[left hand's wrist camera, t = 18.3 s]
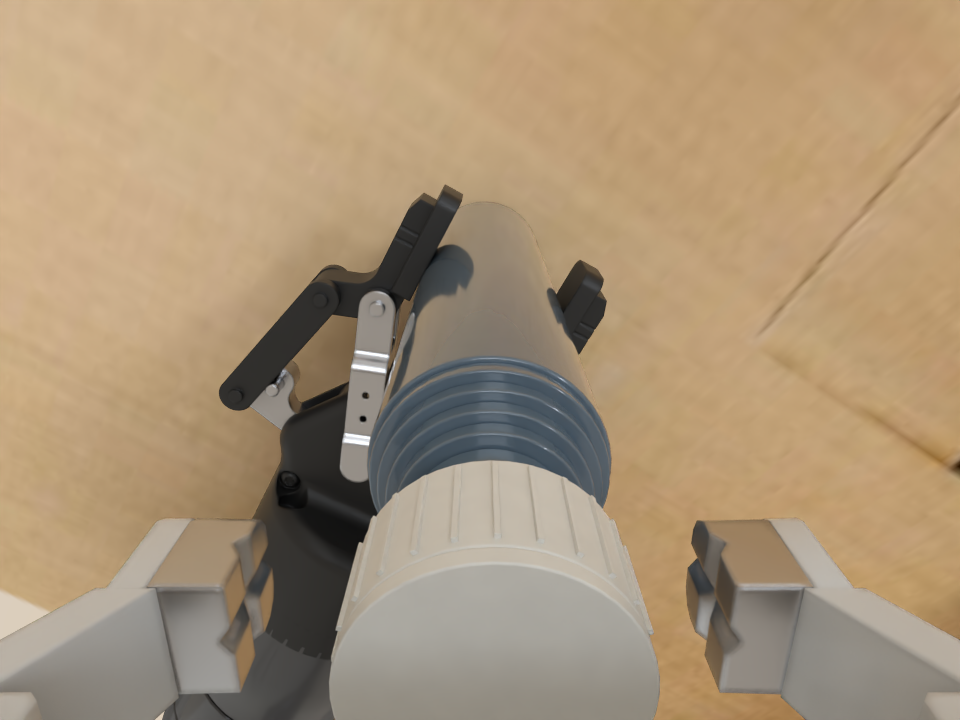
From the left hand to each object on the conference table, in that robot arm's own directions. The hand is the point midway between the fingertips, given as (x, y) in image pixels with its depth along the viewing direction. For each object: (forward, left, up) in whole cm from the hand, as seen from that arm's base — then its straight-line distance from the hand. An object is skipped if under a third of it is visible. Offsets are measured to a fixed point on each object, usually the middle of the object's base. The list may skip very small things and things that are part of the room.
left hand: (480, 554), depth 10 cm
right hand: (-1, -2, -14) cm, 15 cm away
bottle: (0, 0, -21) cm, 21 cm away
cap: (0, 0, +2) cm, 2 cm away
